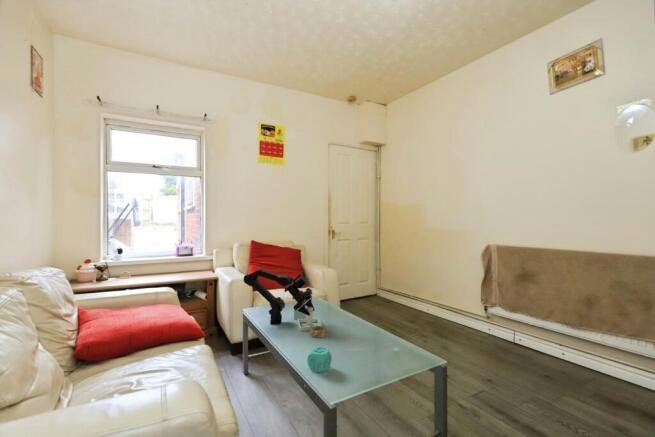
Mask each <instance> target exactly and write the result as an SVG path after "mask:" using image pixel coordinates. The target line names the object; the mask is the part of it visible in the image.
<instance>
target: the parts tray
mask: <svg viewBox="0 0 655 437" xmlns="http://www.w3.org/2000/svg"><path fill="white" fill-rule="evenodd" d="M296 323H297V326H298V330H299V332H300V331H301V332H302V331H307V332H308V331H310V326H306V325H305V326H301V324H302V323H305V324H306V319H296ZM313 323H317V324H318V326H323V324H322V323H321V320H320V319H319V318H314V317H313Z"/></svg>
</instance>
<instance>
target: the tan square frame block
mask: <svg viewBox="0 0 655 437" xmlns="http://www.w3.org/2000/svg"><path fill="white" fill-rule="evenodd" d="M309 333H310V334H309V335H310V336H311V338H321V337H322V338H325V337H328V331H327V329H326V327H325V325H323V324H322V326H319V325H313V326H310V330H309Z"/></svg>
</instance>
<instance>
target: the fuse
mask: <svg viewBox="0 0 655 437" xmlns="http://www.w3.org/2000/svg"><path fill="white" fill-rule="evenodd" d="M306 309H307V310H308V312H309V313H310V315H309V316H308V315H306V322H305V327H306V326H314V322H313V318H314V311H313V308H312V307H307V306H306Z"/></svg>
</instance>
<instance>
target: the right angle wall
mask: <svg viewBox="0 0 655 437" xmlns="http://www.w3.org/2000/svg"><path fill="white" fill-rule="evenodd" d="M297 310H298V309H297ZM297 310H296V311H295V310H294V309H293V320H297V319H306V314H304V313H302V312H299V311H297Z"/></svg>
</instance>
